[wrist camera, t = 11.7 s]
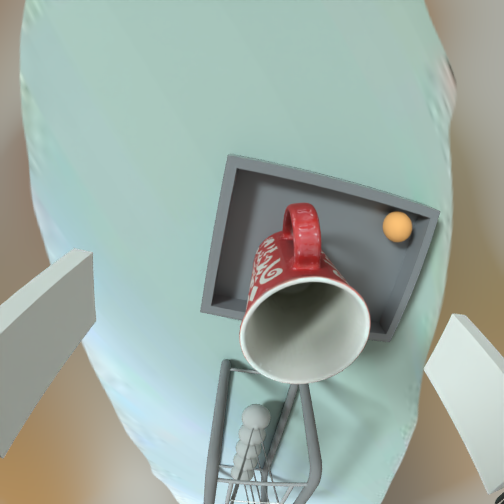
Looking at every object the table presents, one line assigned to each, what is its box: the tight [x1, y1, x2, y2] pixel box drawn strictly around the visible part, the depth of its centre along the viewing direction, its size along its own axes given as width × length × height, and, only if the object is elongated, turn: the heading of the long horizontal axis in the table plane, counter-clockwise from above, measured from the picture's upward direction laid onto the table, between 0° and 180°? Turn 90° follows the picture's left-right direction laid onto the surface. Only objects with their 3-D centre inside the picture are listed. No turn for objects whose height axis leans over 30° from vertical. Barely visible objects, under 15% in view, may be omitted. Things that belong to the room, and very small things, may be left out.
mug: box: [239, 203, 371, 384], centre depth 26 cm, size 13×9×14 cm
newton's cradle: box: [204, 359, 322, 504], centre depth 35 cm, size 30×10×18 cm, turn 172°
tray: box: [200, 154, 440, 342], centre depth 32 cm, size 16×22×3 cm
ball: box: [383, 211, 412, 242], centre depth 30 cm, size 3×3×3 cm
